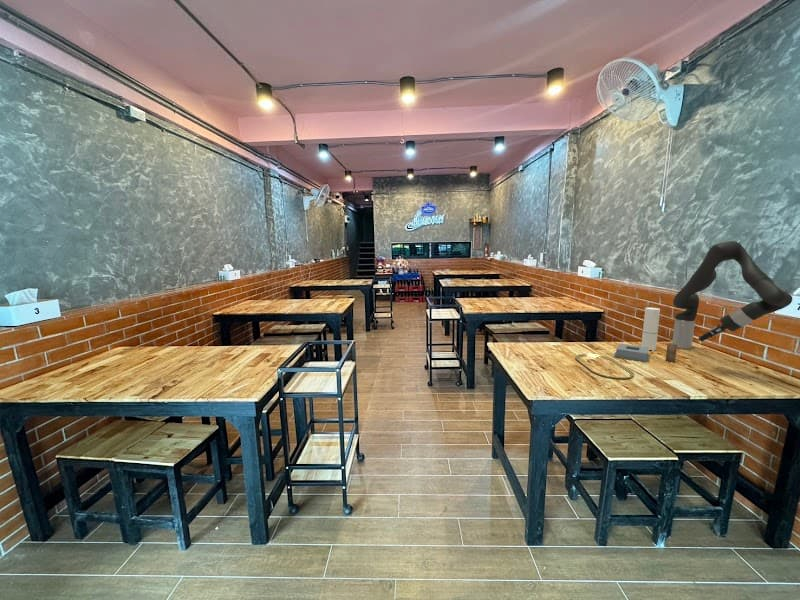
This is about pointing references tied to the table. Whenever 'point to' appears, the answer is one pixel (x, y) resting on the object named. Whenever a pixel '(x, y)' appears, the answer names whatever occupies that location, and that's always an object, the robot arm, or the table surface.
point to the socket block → (632, 353)
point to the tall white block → (650, 328)
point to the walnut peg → (671, 352)
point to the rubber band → (609, 360)
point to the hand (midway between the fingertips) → (701, 338)
